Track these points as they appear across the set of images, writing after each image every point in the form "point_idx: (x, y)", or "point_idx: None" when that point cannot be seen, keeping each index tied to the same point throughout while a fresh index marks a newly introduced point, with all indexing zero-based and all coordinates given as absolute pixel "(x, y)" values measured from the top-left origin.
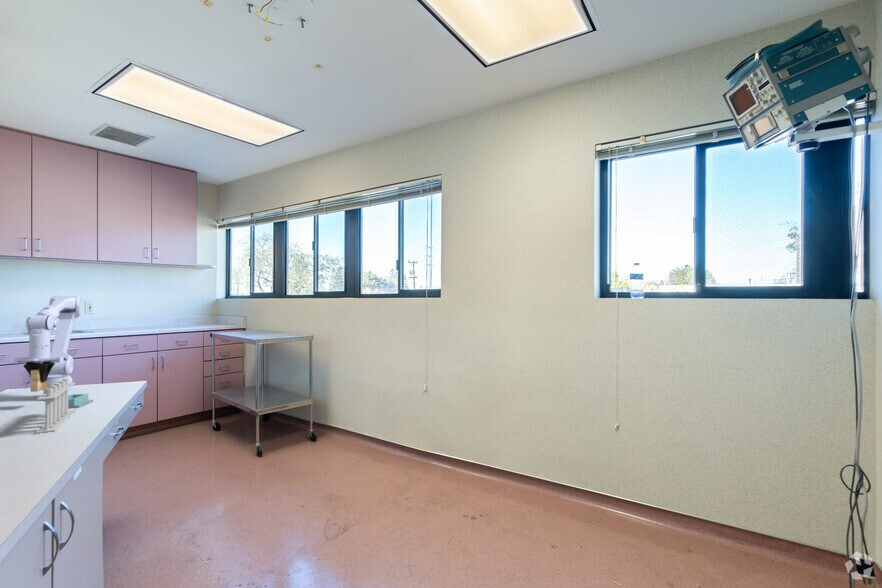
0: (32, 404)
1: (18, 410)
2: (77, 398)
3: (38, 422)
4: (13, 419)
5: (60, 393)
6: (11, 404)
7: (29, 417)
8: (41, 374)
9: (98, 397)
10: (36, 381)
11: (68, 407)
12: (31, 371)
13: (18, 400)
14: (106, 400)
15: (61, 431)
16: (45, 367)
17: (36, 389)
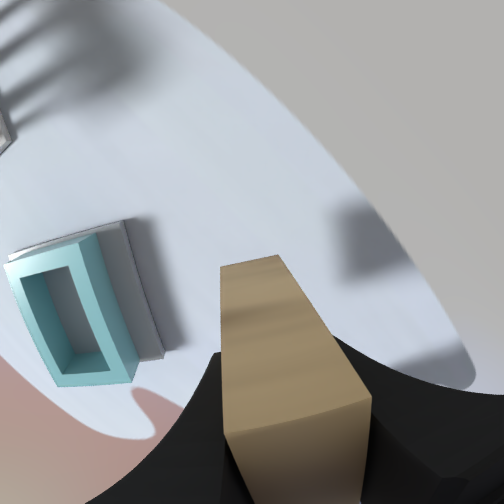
0: (330, 313)
1: (294, 184)
2: (15, 293)
3: (10, 20)
4: (145, 17)
5: None
6: (424, 302)
7: (93, 55)
8: (208, 407)
9: (118, 430)
10: (235, 308)
11: (46, 242)
12: (349, 386)
13: (435, 360)
14: (33, 379)
15: None
16: (97, 500)
17: (230, 270)
